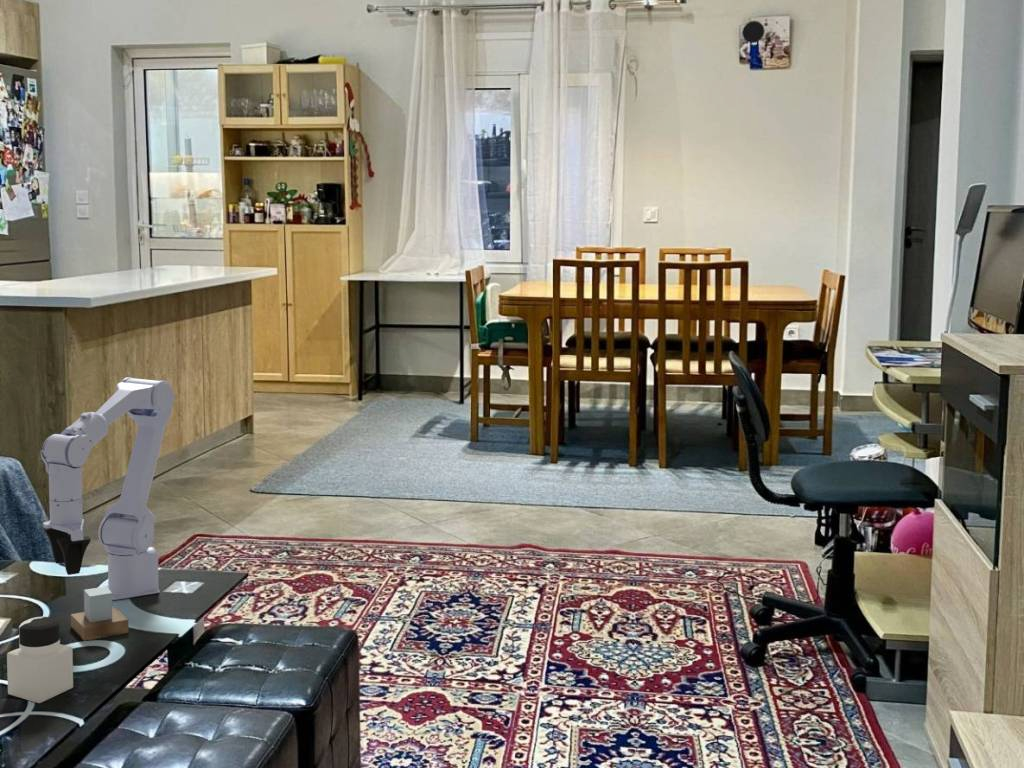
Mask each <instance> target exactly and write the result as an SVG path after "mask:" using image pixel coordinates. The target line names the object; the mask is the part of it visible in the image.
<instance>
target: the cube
mask: <svg viewBox="0 0 1024 768" xmlns="http://www.w3.org/2000/svg"><path fill="white" fill-rule="evenodd" d="M112 607H113V600H112V592H111V591H110V590H109V589H108V588H107V587H104V586H101V587H94V588H87V589H83V610H84V611H83V612H84V616H85V617H86V618H87V619H88V621H89V622H96V621H102V620H108V619H112Z"/></svg>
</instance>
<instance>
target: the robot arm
mask: <svg viewBox="0 0 1024 768" xmlns="http://www.w3.org/2000/svg"><path fill="white" fill-rule="evenodd" d="M171 385H172V384H170V382H168V381H166V380H155V379H143V378H135V377H130V376H128V377H127V376H126V377H124V378H123V379H121V381H120V382H119V383H117V384H116V386H115V392H114V393H113V395H111V397H110V398H108V399H107V400H106V401H105V402H104V403H103V404H102V406H100V407H99V408H98V410H96V411H95V412H93V411H87V412H85V411H84V412H83V413H81V414H80V415H79V416H80V417H79V418H78V419H76V420H75V421H74V422H72V424H71V425H69V426H67V427H66V428H65V429H64V430H63V431H62V432H61V433H59V434H58V433H54V434H51V435H50V436H48V437H47V438H46V439H45V440H44V442H43V444H42V449H41V450H40V457H41V460H42V461H43V463H44V465H45V471H46V473H47V475H48V492H49V493H48V494H49V495H48V497H49V501H48V503H49V520H48V521H44V522H43V525H42V526H43V530H44V533H45V535H46V536H47V539H48V541H49V544H50V547H51V550H52V555H53V558H54V562H55V564H58V565H59V564H64V568H65V572H66V574H67V575H68V576H70V575H77V574H80V573H81V568H82V563H83V560H84V555H85V552H86V550H87V548H88V547H89V544H90V543H91V537H90V536H88V535H86V536H84V529H83V528H84V524H85V519H84V518H83V517H84V516H83V511H84V510H83V477H82V476H83V470H82V469H83V468H82V465H84V464H85V463H86V462H87V460H88V458H89V454H90V453H91V451H92V449H93V448H94V446H96V445H97V444H98V443H99V442H100V441H101V440H103V439H104V438H105V437H106V436H107V435H108V433H109V426H110V425H111V424H112V423H114V422H116V421H117V420H118V419H119V418H121V417H122V416H123V415H125V414H127V415H128V416H129V417H130V419H132V420H134V421H135V424H136V425H137V431H136V434H135V438H134V443H133V445H132V451H131V455H130V458H129V461H128V464H127V465H128V466H127V469H126V474H125V477H124V481H123V485H122V489H121V493H120V498H119V500H118V501H117V502H114V503H113V504H111V505H110V506H108V507H107V509H106V511H105V515H104V517H103V519H102V521H101V522H100V524H99V527H98V528H97V529H98V530H97V531H98V532H97V535H98V540H99V543H100V544H101V545H103V547H104V551H106V552H107V579H108V581H107V585H105V586H103V587H107V588H108V589H109V590H110V591H111V592H112V601H118V600H122V599H130V598H136V597H142V596H146V595H147V596H149V595H153V594H158V593H160V589H159V559H158V553H157V551H156V548H155V547H153V546H152V544H153V541H154V539H155V521H156V516H155V514H154V513H153V512H152V511H151V510H150V508H149V507H148V506H147V504H148V503H147V502H148V499H149V496H150V491H151V487H152V483H153V480H154V474H155V470H156V467H157V465H158V464H157V463H158V460H159V455H160V451H161V448H162V443H163V440H164V435H165V430H166V427H167V424H168V423H169V422H170V418H171V415H172V414H171V413H172V410H173V405H174V402H175V398H176V397H175V394H174V393H175V392H174V391H173V388H172V386H171Z"/></svg>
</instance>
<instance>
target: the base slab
mask: <svg viewBox="0 0 1024 768" xmlns="http://www.w3.org/2000/svg"><path fill="white" fill-rule="evenodd" d="M71 627H72V628H73V629H74V630H75V631H76V632H77V633H78V634H79V635H80V636H81V637H80V636H79V635H78V634H77V633H76V632H75V631H74V630H73V629H72V628H71ZM70 628H71V629H72V630H73V631H74V632H75V633H76V634H77V635H78V636H79V637H80V639H82V640H83V641H84V642H87V640H88V641H93V640H97V638H98V639H102V637H103V638H107V637H108V636H109V637H113V635H114V636H119V635H124V634H127V633H129V618H128V617H126V615H124V614H123V613H122V612H121V611H120V610H118V608H117V607H116V606H112V619H108V620H102V621H96V622H89V621H88V619H87V618H86V617H85V616H84V611H81V612H77V613H71V614H70Z"/></svg>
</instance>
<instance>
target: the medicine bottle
mask: <svg viewBox="0 0 1024 768" xmlns="http://www.w3.org/2000/svg"><path fill="white" fill-rule="evenodd" d="M60 628H61V627H60V621H59V620H58V619H56V618H54V617H50V616H36V617H31V618H29V619H26V620H24V621H22V622H21V623H20V625H19V626H18V642H19V643H18V644H19V648H16V649H13V650H11V651H9V652H7V653H6V664H7V665H6V669H7V672H6V673H7V694H8V695H10V696H13V697H16V698H21V699H23V700H26V701H30V702H33V703H37V704H41V703H44V702H45V701H49V700H50V699H52V698H54V697H56V696H58V695H60V694H62V693H64V692H66V691H69V690H71V689H73V688H74V662H73V661H74V658H73V656H74V655H73V647H72V646H69V645H65V644H61V632H60V631H61V630H60Z"/></svg>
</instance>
